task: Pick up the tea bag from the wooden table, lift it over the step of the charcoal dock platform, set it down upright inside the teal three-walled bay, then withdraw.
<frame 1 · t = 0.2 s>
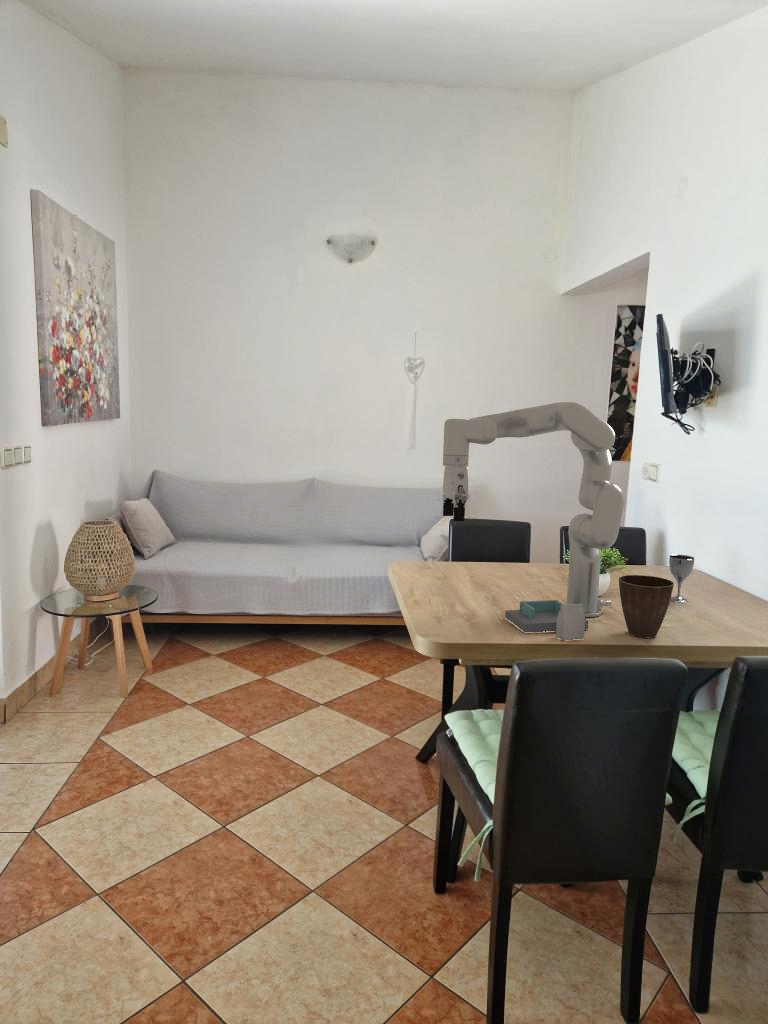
hand: (453, 518, 216), 31 cm above the table, tool pointing down, fingers open, 9 cm apart
wine glass: (678, 600, 251), on the table
plant pot: (641, 635, 210), on the table
dock: (545, 625, 217), on the table
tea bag: (569, 639, 205), on the table
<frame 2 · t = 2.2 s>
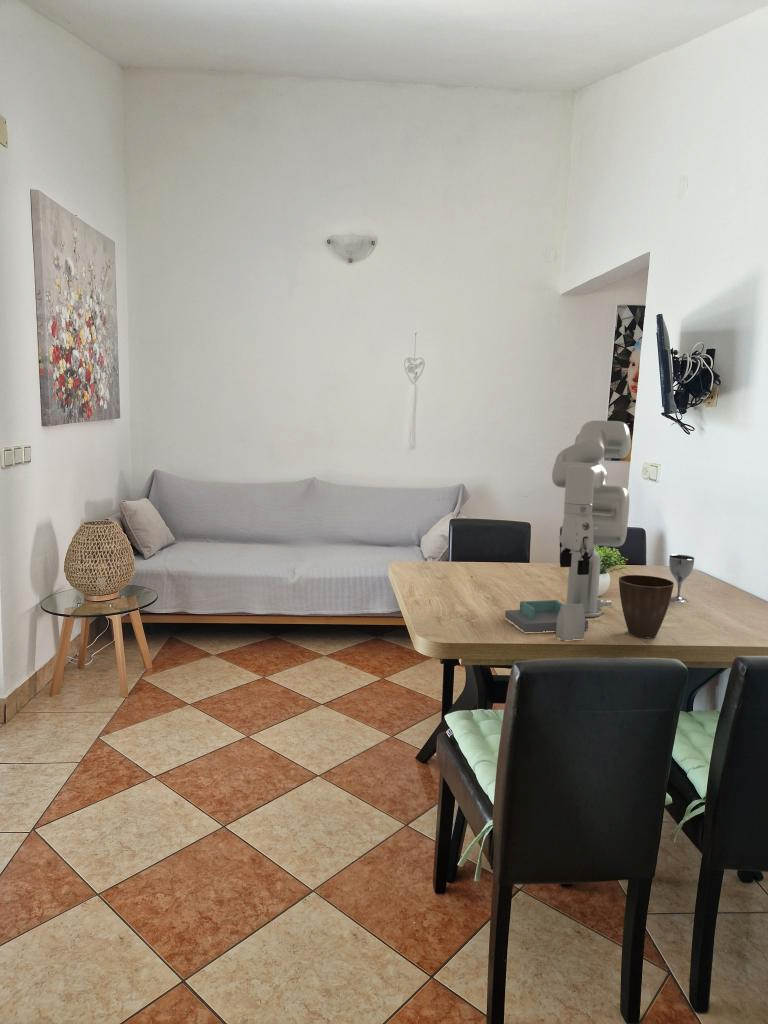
hand: (574, 570, 202), 20 cm above the table, tool pointing down, fingers open, 9 cm apart
nothing on the table moved.
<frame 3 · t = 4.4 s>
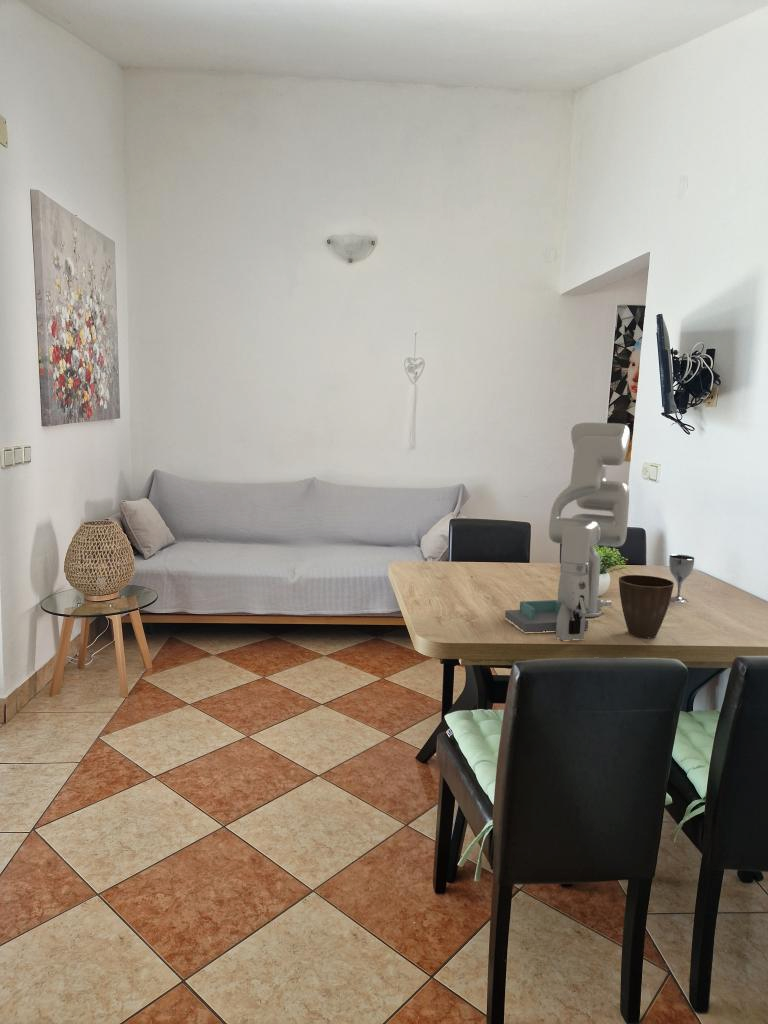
hand: (570, 630, 204), 2 cm above the table, tool pointing down, fingers closed on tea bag, 3 cm apart
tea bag: (569, 639, 205), on the table, touching gripper
everything else where it was.
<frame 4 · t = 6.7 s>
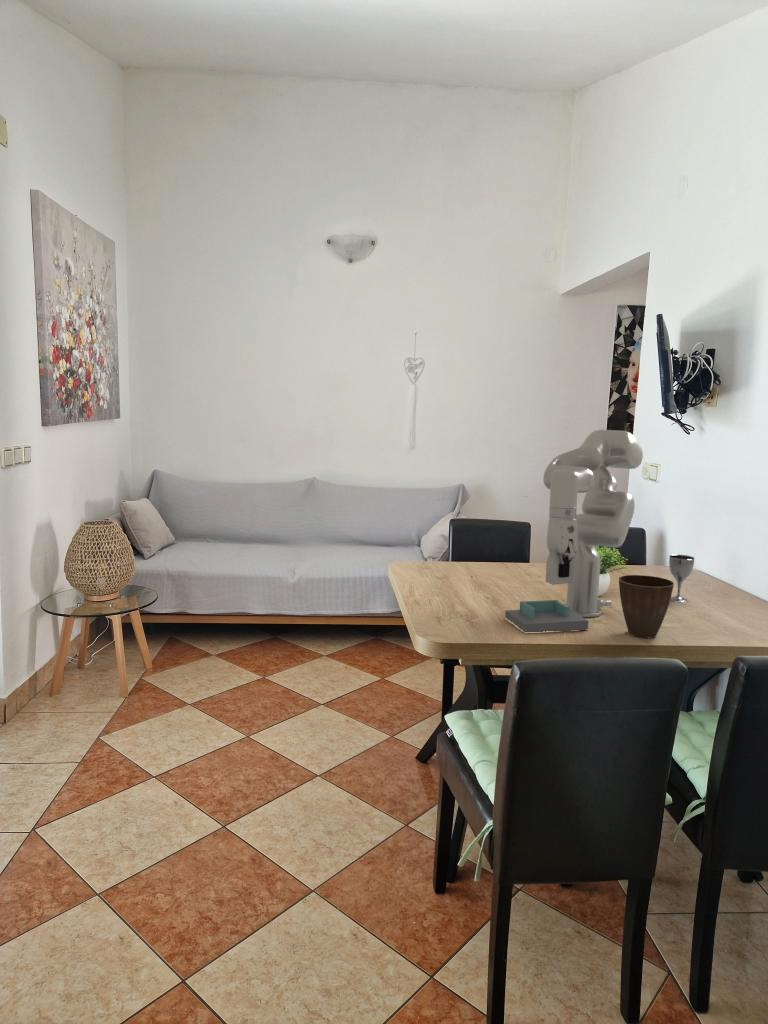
hand: (559, 574, 210), 17 cm above the table, tool pointing down, fingers closed on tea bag, 3 cm apart
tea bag: (559, 582, 211), point 14 cm above the table, touching gripper
everything else where it was.
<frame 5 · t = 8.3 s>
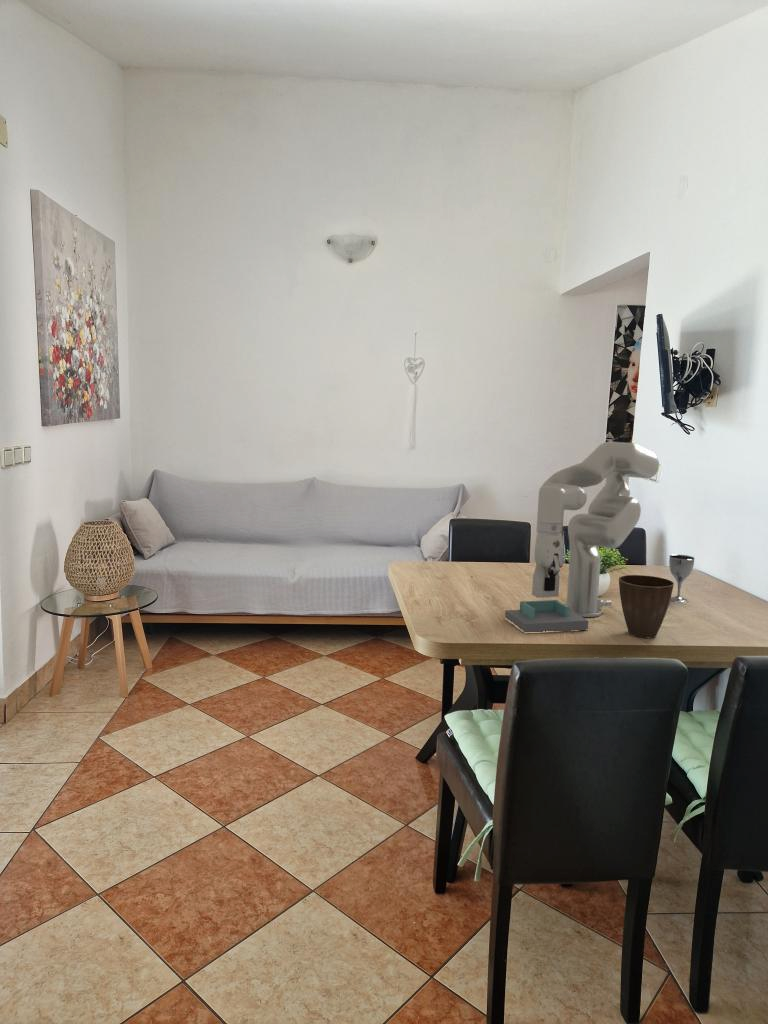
hand: (545, 588, 216), 11 cm above the table, tool pointing down, fingers closed on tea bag, 3 cm apart
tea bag: (545, 596, 217), point 9 cm above the table, touching gripper
everything else where it was.
when the fingers open (7 cm above the table, at t = 9.4 s): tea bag drops 1 cm, resting on dock.
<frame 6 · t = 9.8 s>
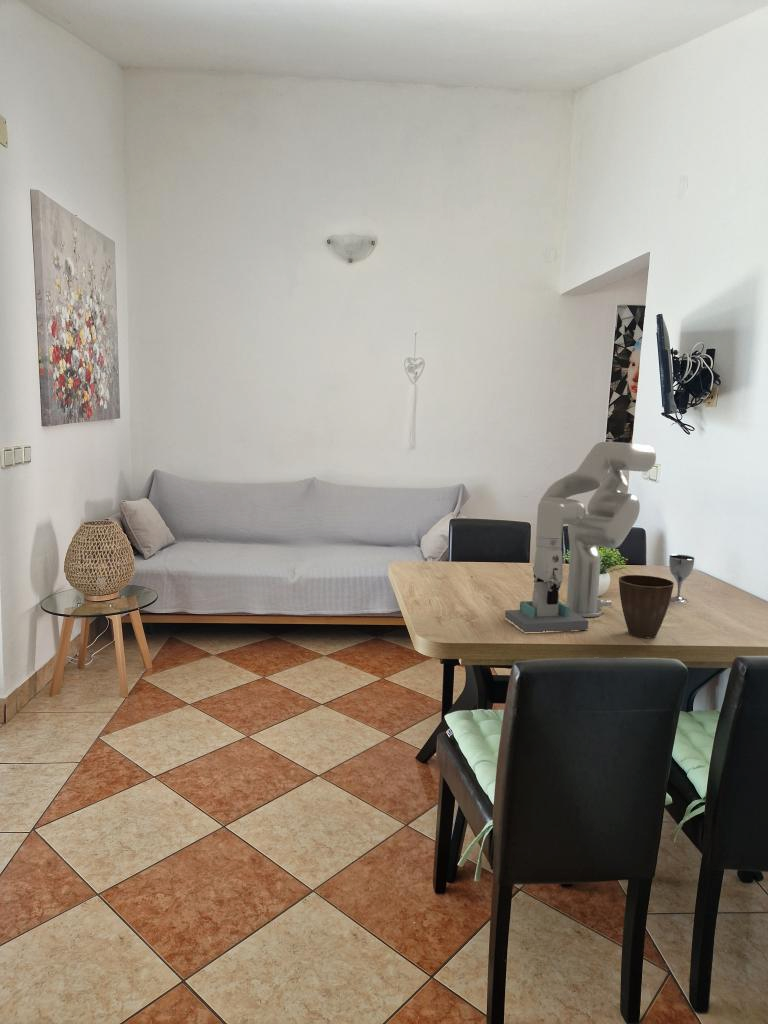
hand: (545, 599, 217), 7 cm above the table, tool pointing down, fingers open, 8 cm apart
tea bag: (544, 614, 218), point 3 cm above the table, touching dock
everything else where it was.
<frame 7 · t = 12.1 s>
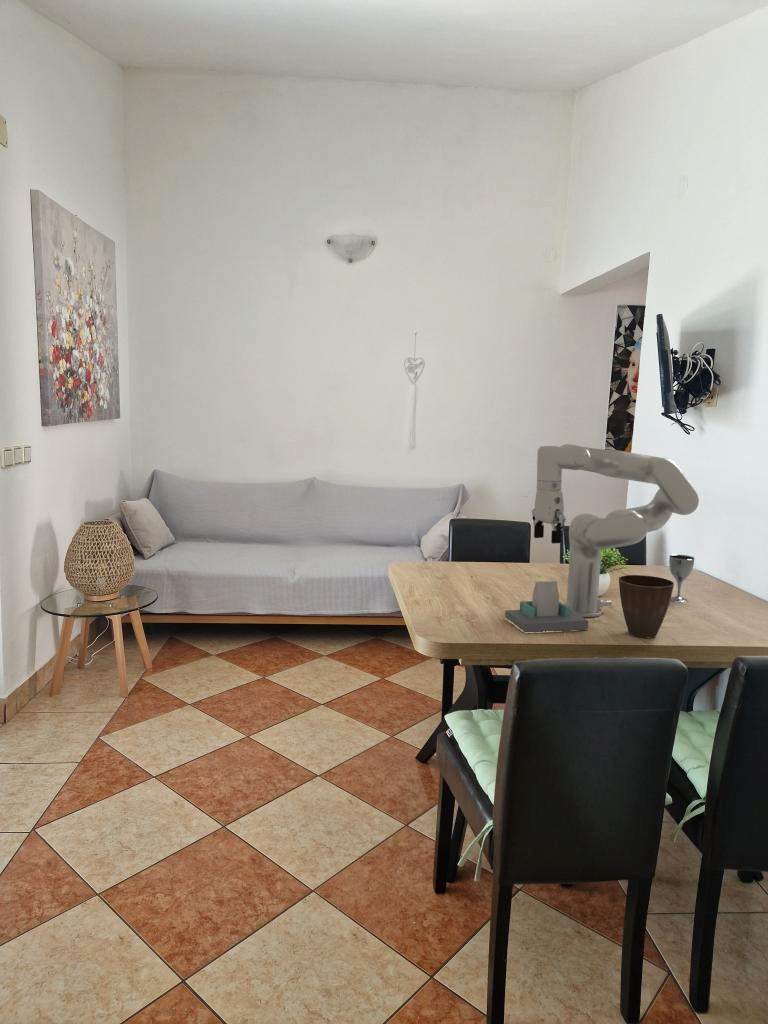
hand: (547, 540, 227), 23 cm above the table, tool pointing down, fingers open, 9 cm apart
nothing on the table moved.
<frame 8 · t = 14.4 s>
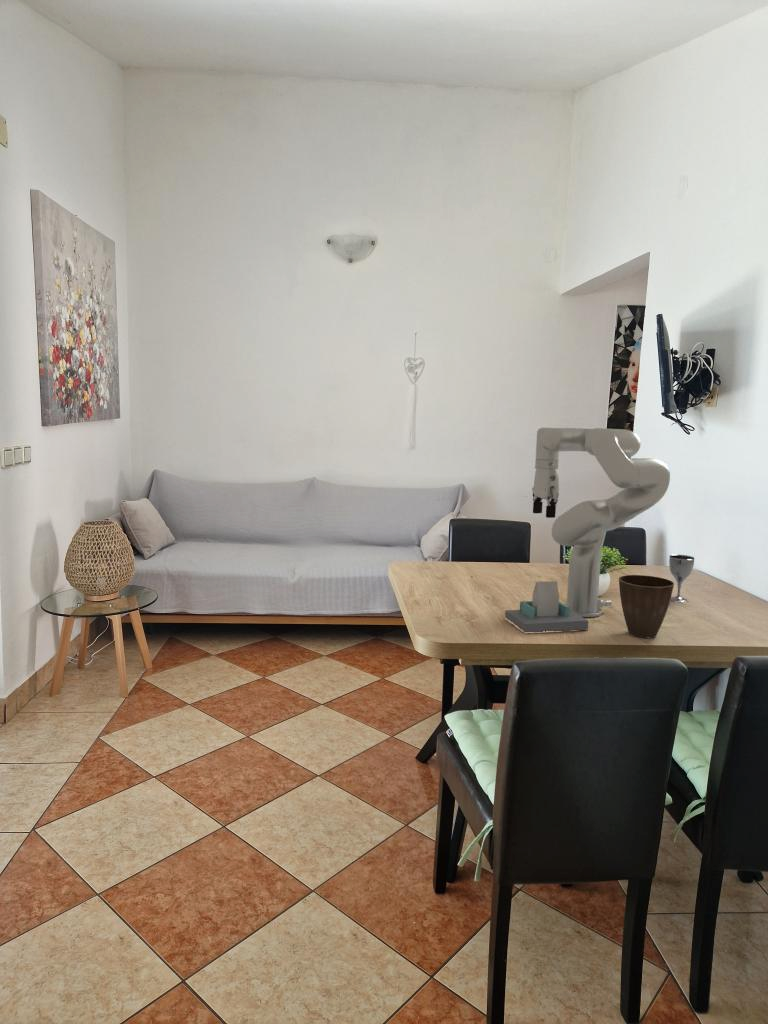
hand: (543, 515, 246), 28 cm above the table, tool pointing down, fingers open, 9 cm apart
nothing on the table moved.
at the end: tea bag inside the target area on the dock (0.4 cm from its centre), point 2.8 cm above the dock's base; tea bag tilted 0°; the gripper is holding nothing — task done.
